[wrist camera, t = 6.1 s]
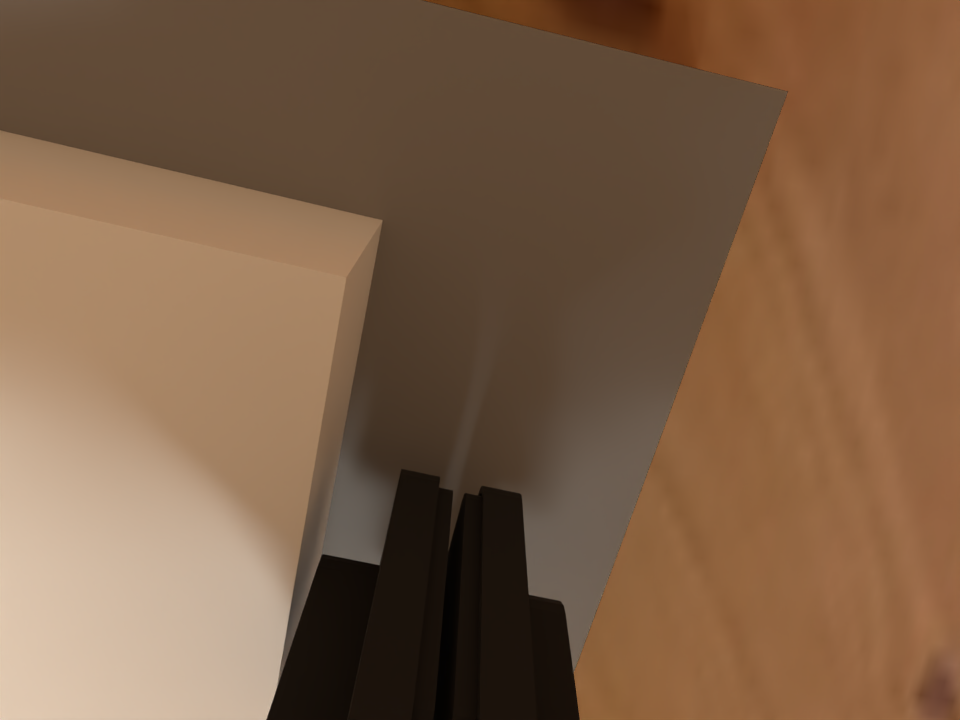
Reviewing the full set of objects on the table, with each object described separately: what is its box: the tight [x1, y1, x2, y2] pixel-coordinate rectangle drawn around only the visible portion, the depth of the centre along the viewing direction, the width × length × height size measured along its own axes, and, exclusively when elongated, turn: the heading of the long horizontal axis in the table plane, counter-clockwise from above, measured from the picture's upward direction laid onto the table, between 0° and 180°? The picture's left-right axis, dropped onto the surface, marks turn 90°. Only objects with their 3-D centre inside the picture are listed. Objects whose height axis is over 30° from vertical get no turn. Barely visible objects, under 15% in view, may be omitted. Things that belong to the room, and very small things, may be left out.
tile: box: [0, 130, 383, 720], centre depth 10 cm, size 6×9×2 cm, turn 167°
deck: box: [0, 0, 788, 673], centre depth 12 cm, size 16×14×4 cm
